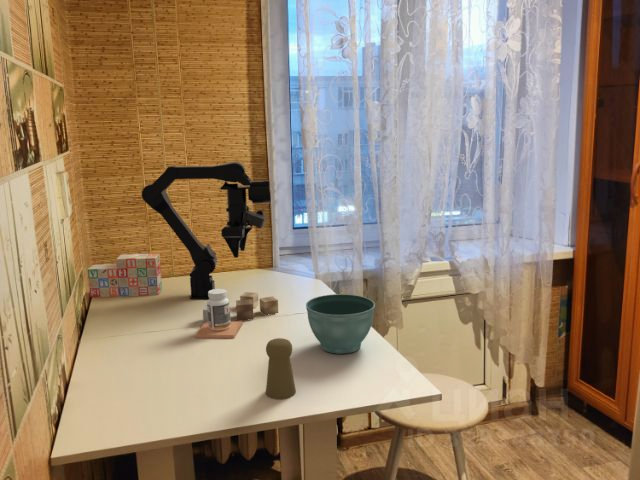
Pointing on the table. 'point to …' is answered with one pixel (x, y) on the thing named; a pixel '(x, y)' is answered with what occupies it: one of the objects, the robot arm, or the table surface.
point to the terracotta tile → (228, 333)
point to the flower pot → (340, 321)
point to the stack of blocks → (126, 276)
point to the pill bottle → (218, 310)
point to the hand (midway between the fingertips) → (239, 254)
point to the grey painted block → (205, 314)
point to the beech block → (250, 296)
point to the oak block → (268, 305)
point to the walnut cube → (244, 309)
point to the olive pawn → (279, 370)
